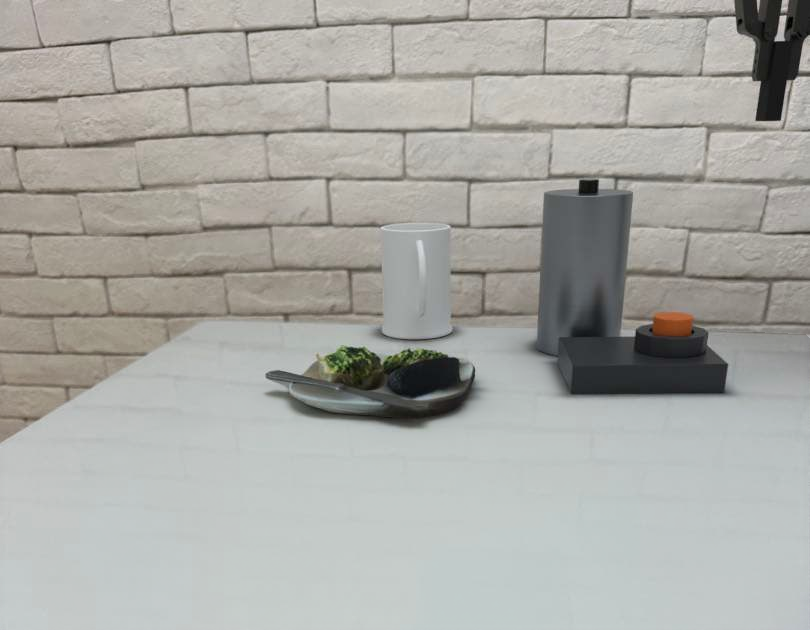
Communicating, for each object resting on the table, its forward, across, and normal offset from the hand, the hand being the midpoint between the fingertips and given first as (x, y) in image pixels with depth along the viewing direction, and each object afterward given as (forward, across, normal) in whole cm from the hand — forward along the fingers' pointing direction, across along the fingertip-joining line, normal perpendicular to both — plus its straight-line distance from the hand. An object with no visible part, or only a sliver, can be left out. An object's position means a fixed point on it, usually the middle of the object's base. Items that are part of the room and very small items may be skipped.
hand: (767, 120), depth 81 cm
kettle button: (+18, -9, -9) cm, 22 cm away
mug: (+22, -34, +10) cm, 42 cm away
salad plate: (+22, -36, -14) cm, 45 cm away
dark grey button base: (+22, -12, -9) cm, 27 cm away
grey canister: (+22, -16, +3) cm, 28 cm away
